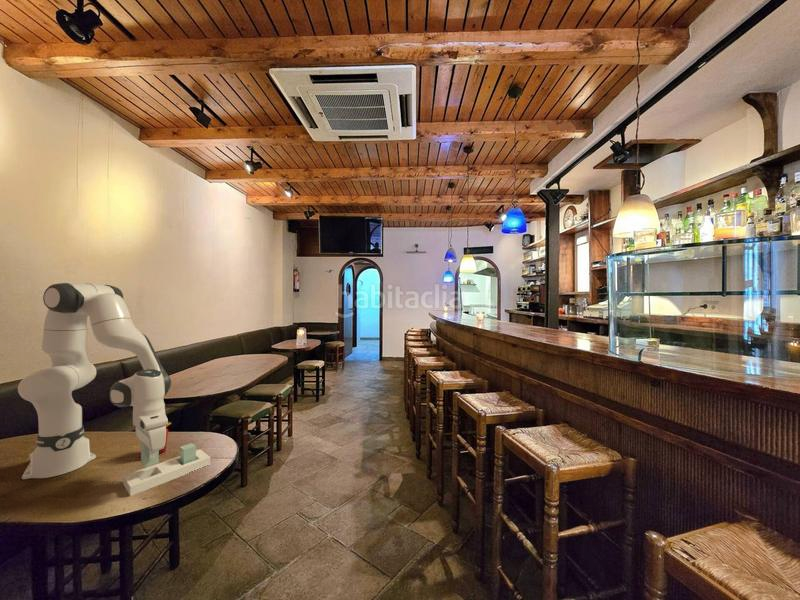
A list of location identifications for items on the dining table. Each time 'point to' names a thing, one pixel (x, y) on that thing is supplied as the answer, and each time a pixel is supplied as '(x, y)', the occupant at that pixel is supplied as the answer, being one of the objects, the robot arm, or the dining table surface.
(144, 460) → the block
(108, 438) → the dining table surface
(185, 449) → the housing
